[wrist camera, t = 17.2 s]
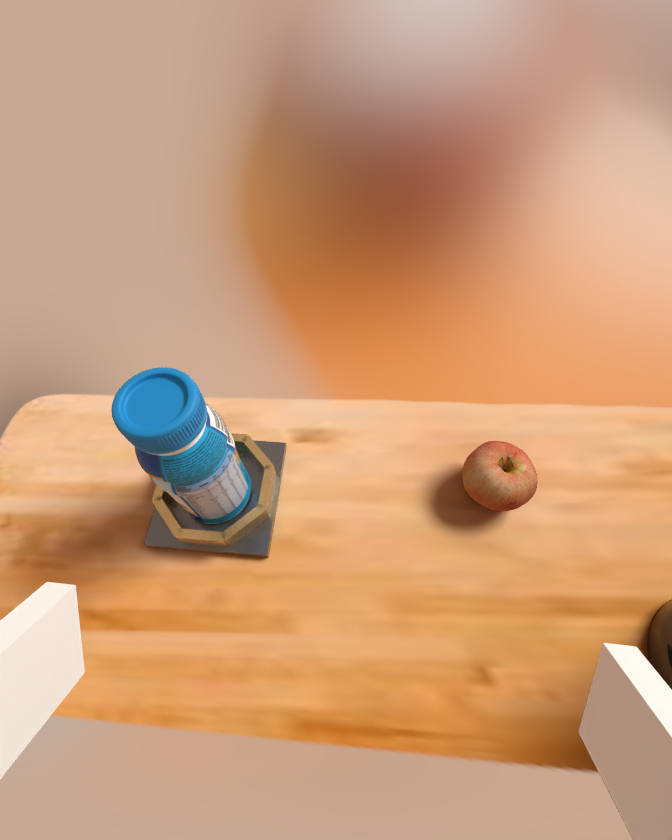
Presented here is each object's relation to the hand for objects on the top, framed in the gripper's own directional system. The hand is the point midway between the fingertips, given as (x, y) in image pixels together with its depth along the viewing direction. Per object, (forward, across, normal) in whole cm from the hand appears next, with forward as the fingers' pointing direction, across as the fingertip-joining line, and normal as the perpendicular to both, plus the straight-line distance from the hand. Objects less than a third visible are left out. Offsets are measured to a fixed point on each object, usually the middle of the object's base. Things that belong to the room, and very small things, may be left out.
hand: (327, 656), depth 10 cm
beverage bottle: (+36, -16, -13) cm, 41 cm away
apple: (+40, +17, -11) cm, 45 cm away
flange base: (+37, -16, -14) cm, 42 cm away
